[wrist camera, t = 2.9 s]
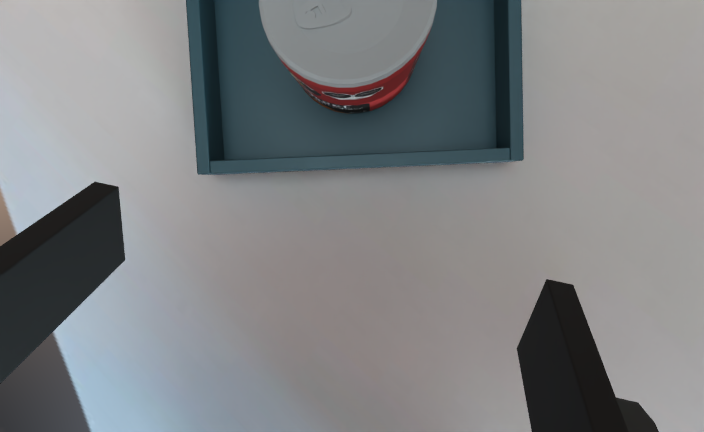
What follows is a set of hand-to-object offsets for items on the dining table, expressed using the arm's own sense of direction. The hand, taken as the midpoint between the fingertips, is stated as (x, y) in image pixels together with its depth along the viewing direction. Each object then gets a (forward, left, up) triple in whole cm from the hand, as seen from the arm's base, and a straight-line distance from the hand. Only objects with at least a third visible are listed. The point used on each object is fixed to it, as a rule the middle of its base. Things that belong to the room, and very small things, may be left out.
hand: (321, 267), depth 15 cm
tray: (-1, -11, -19) cm, 21 cm away
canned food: (-1, -11, -18) cm, 21 cm away
